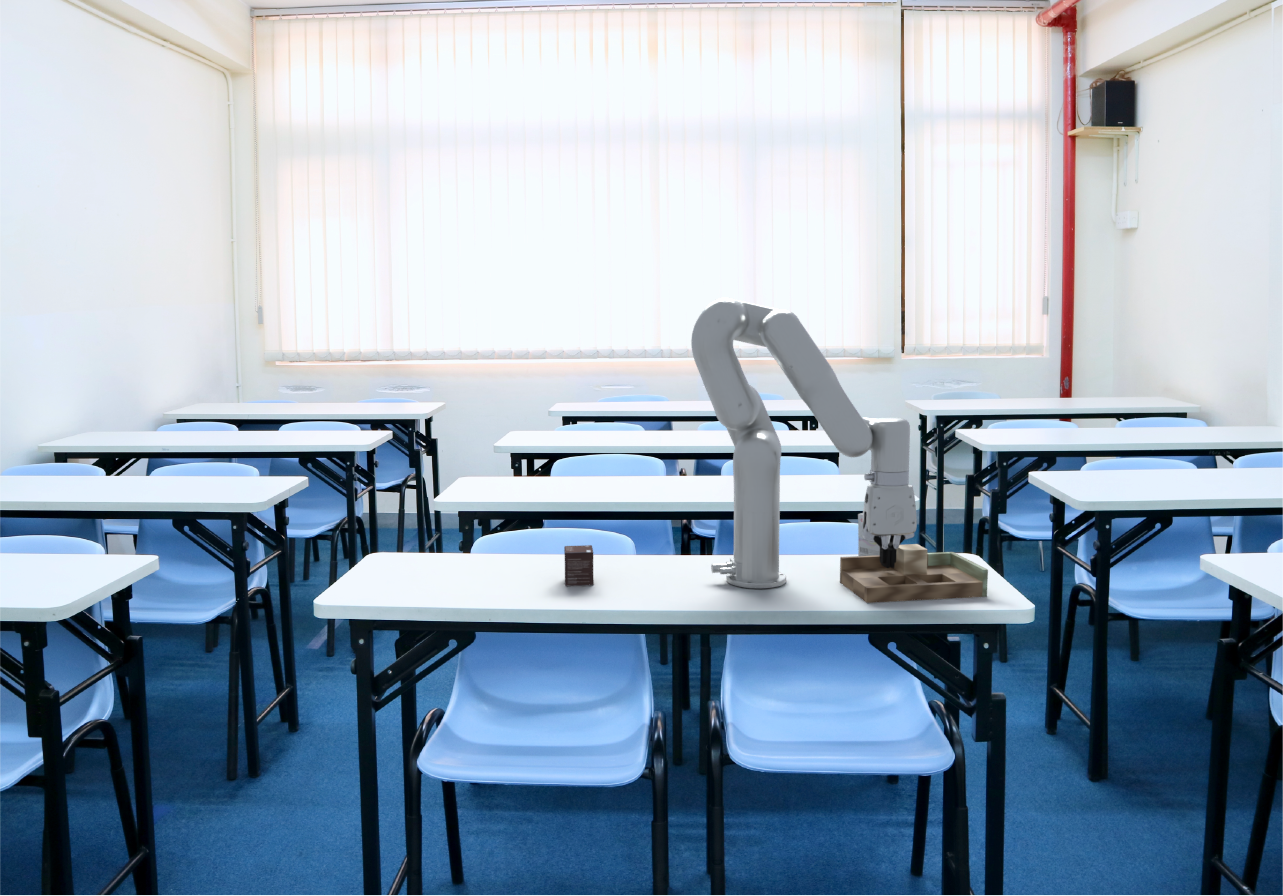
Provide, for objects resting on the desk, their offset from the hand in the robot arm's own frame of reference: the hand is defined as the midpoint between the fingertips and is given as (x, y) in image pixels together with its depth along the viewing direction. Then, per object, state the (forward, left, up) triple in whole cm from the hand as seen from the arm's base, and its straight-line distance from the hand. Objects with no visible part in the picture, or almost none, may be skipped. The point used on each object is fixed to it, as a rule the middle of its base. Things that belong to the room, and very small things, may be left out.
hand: (887, 566), depth 200 cm
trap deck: (+3, -3, -4) cm, 6 cm away
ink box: (+4, +16, -5) cm, 17 cm away
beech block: (+5, 0, -1) cm, 5 cm away
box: (-63, +15, -5) cm, 64 cm away
